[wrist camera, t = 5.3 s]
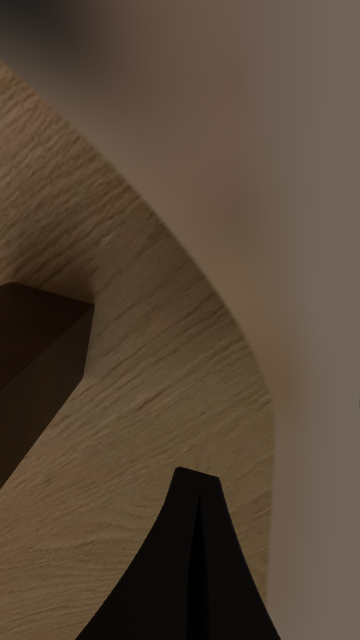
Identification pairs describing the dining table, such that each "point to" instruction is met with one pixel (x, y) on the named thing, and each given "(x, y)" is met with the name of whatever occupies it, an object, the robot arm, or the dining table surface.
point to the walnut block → (36, 364)
